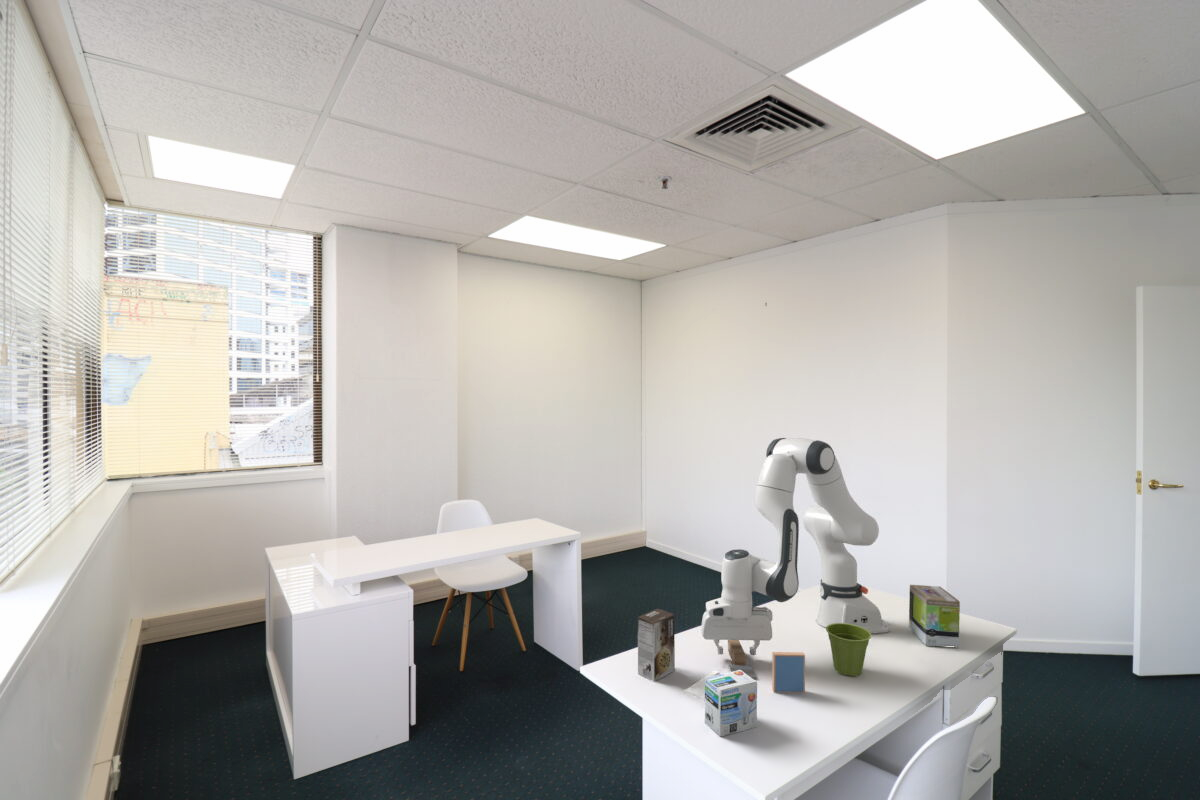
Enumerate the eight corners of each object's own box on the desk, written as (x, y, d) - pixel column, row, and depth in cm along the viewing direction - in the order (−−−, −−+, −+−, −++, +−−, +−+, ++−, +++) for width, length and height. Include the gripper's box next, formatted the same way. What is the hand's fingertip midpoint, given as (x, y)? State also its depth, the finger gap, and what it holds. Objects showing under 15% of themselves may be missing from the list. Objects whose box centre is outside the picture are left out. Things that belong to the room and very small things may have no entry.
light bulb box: (720, 737, 132) (720, 690, 132) (703, 722, 138) (703, 677, 138) (758, 727, 136) (758, 681, 136) (740, 712, 142) (740, 668, 142)
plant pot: (820, 673, 162) (820, 632, 162) (832, 657, 172) (832, 619, 172) (865, 685, 155) (865, 643, 155) (875, 669, 165) (876, 629, 165)
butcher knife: (730, 679, 160) (730, 675, 160) (700, 700, 149) (700, 696, 149) (714, 672, 163) (714, 669, 163) (683, 693, 152) (684, 689, 152)
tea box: (960, 649, 178) (961, 600, 178) (925, 646, 180) (925, 598, 180) (940, 629, 193) (940, 585, 193) (907, 627, 195) (908, 583, 194)
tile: (803, 690, 153) (803, 652, 153) (805, 693, 151) (805, 655, 151) (772, 689, 153) (772, 651, 153) (774, 693, 152) (774, 654, 151)
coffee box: (657, 663, 168) (657, 607, 168) (675, 671, 163) (675, 613, 163) (636, 674, 162) (636, 616, 162) (654, 682, 157) (654, 622, 157)
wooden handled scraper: (723, 651, 176) (723, 638, 176) (743, 652, 176) (743, 639, 176) (733, 679, 159) (733, 664, 159) (756, 679, 159) (756, 665, 159)
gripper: (769, 603, 173) (769, 649, 173) (700, 602, 174) (700, 648, 174) (775, 611, 167) (775, 659, 167) (703, 610, 168) (703, 658, 168)
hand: (736, 653), depth 171 cm, fingers open, 8 cm apart
